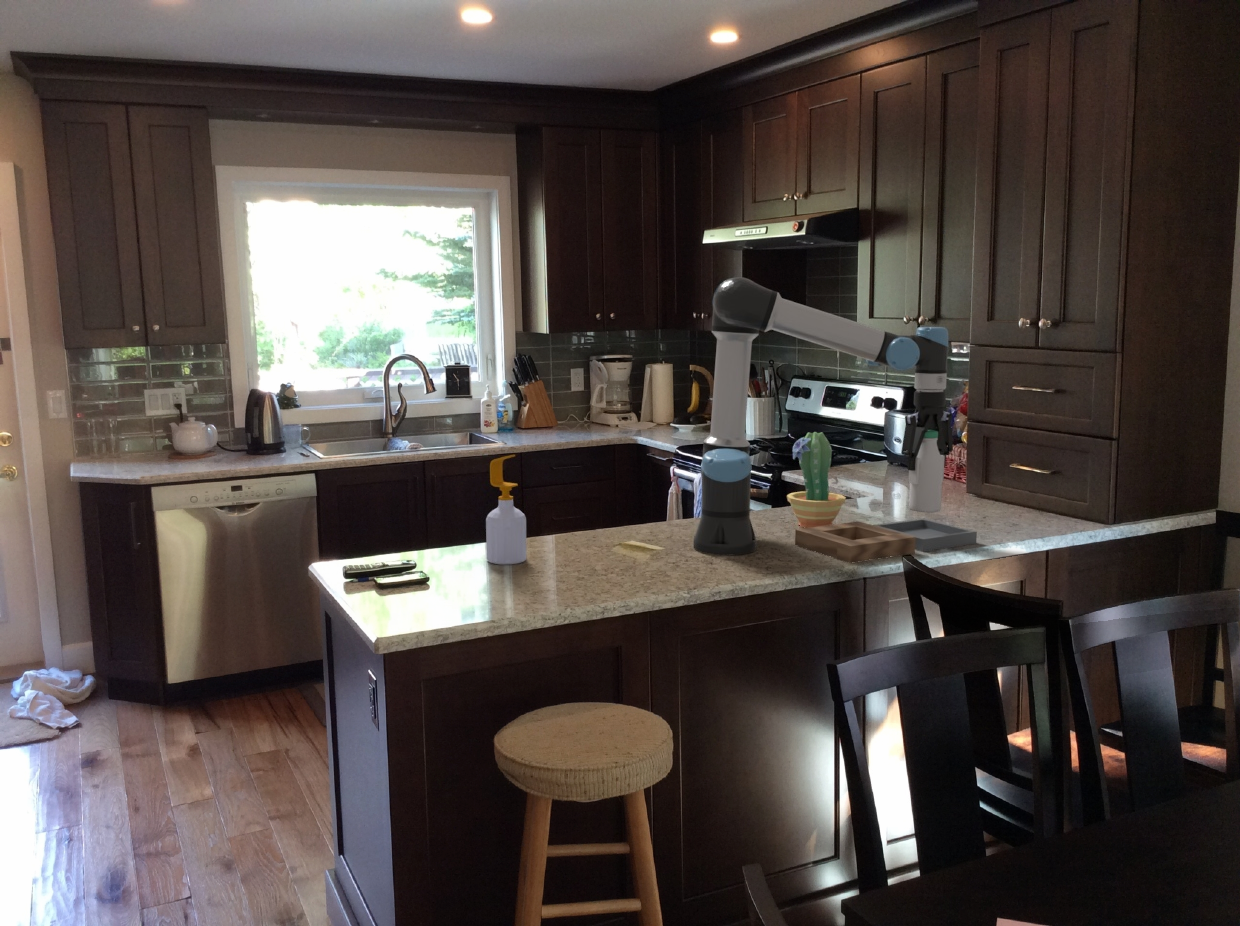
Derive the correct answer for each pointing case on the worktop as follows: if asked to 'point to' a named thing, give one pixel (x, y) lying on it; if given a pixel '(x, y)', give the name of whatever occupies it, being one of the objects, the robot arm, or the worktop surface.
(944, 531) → the tray
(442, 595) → the worktop surface
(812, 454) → the potted cactus
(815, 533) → the block
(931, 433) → the milk bottle
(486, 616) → the worktop surface
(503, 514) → the soap bottle
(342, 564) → the worktop surface
